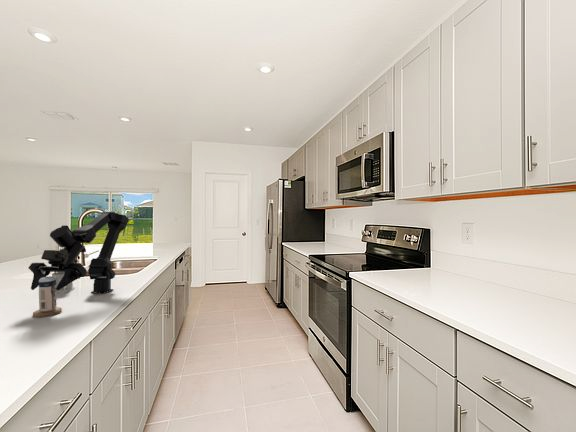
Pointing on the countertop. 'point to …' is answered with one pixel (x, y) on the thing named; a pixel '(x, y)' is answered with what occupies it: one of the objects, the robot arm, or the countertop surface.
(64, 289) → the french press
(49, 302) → the beer can
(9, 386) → the countertop surface
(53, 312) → the walnut coaster
